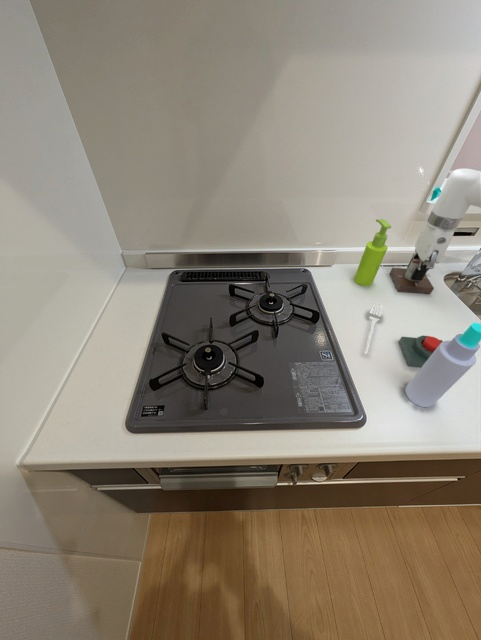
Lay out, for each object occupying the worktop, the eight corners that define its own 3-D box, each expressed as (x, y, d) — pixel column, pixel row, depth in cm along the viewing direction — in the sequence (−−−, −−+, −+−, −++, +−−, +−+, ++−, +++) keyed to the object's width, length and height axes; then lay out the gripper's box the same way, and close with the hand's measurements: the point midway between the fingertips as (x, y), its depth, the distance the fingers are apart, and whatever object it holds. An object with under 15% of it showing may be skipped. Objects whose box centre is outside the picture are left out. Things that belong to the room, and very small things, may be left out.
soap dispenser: (366, 273, 95) (388, 217, 81) (375, 285, 91) (401, 228, 76) (350, 274, 95) (369, 218, 81) (358, 287, 90) (381, 229, 76)
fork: (358, 353, 71) (360, 348, 70) (370, 306, 84) (372, 302, 82) (371, 357, 70) (374, 353, 69) (382, 310, 83) (384, 305, 81)
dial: (418, 274, 91) (426, 258, 87) (422, 282, 88) (431, 267, 84) (402, 272, 92) (410, 257, 88) (406, 280, 88) (414, 265, 84)
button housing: (437, 345, 73) (445, 335, 70) (450, 370, 67) (459, 360, 64) (398, 341, 73) (404, 331, 70) (407, 366, 68) (415, 356, 65)
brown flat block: (419, 275, 95) (422, 269, 93) (430, 294, 88) (434, 287, 86) (389, 273, 96) (392, 267, 94) (397, 291, 88) (401, 285, 87)
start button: (435, 341, 69) (438, 336, 68) (440, 352, 66) (444, 348, 65) (420, 340, 69) (423, 335, 68) (425, 351, 66) (428, 346, 65)
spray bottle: (404, 401, 61) (461, 334, 45) (404, 380, 65) (457, 311, 49) (434, 412, 59) (504, 346, 44) (433, 389, 63) (497, 321, 48)
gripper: (469, 236, 70) (433, 292, 83) (448, 208, 82) (419, 261, 94) (437, 232, 71) (406, 288, 84) (421, 206, 83) (396, 258, 95)
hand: (414, 273), depth 89 cm, fingers closed on dial, 4 cm apart
